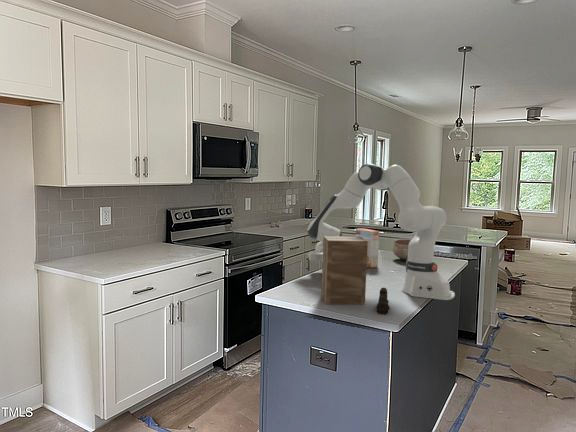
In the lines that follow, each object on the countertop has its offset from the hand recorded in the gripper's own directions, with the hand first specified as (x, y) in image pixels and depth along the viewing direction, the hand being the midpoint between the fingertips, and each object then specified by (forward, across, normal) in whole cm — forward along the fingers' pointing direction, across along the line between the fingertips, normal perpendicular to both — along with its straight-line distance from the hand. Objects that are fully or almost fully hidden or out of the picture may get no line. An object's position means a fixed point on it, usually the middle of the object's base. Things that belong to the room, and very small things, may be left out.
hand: (331, 259), depth 212 cm
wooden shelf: (+28, 0, +11) cm, 30 cm away
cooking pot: (-56, +58, +12) cm, 82 cm away
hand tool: (+36, +14, +12) cm, 40 cm away
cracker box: (-40, +28, +12) cm, 51 cm away
